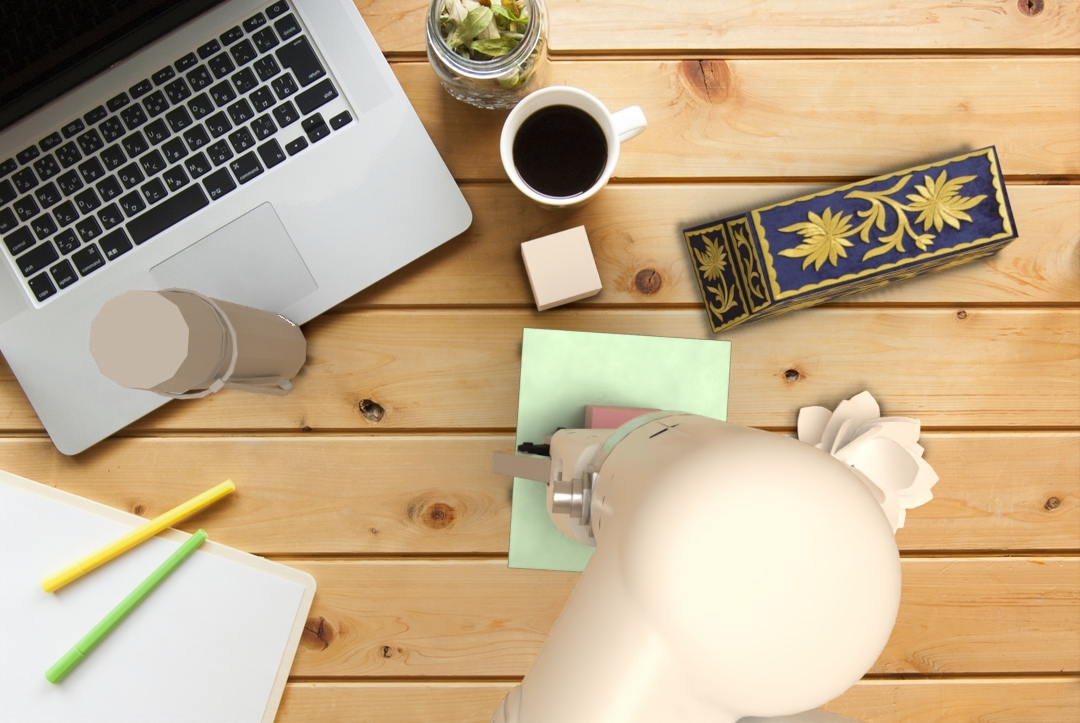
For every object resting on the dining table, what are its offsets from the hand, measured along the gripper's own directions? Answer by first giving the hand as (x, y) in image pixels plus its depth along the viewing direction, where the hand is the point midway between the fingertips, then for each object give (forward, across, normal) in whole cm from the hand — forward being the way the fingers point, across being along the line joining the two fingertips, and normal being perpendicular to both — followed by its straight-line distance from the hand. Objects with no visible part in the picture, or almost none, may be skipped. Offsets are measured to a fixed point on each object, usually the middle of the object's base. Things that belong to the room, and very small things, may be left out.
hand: (621, 455), depth 48 cm
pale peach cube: (+25, -4, +15) cm, 29 cm away
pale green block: (+25, 0, 0) cm, 25 cm away
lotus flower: (+25, +26, -2) cm, 36 cm away
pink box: (+1, 0, 0) cm, 1 cm away
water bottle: (+25, -31, +5) cm, 40 cm away
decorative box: (+25, +24, +20) cm, 40 cm away
